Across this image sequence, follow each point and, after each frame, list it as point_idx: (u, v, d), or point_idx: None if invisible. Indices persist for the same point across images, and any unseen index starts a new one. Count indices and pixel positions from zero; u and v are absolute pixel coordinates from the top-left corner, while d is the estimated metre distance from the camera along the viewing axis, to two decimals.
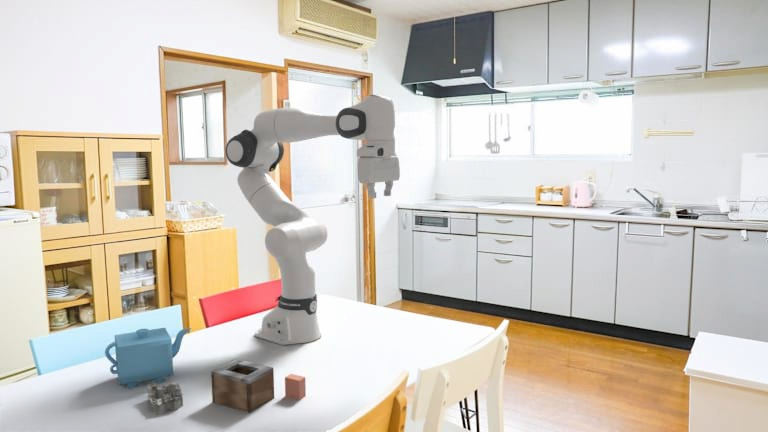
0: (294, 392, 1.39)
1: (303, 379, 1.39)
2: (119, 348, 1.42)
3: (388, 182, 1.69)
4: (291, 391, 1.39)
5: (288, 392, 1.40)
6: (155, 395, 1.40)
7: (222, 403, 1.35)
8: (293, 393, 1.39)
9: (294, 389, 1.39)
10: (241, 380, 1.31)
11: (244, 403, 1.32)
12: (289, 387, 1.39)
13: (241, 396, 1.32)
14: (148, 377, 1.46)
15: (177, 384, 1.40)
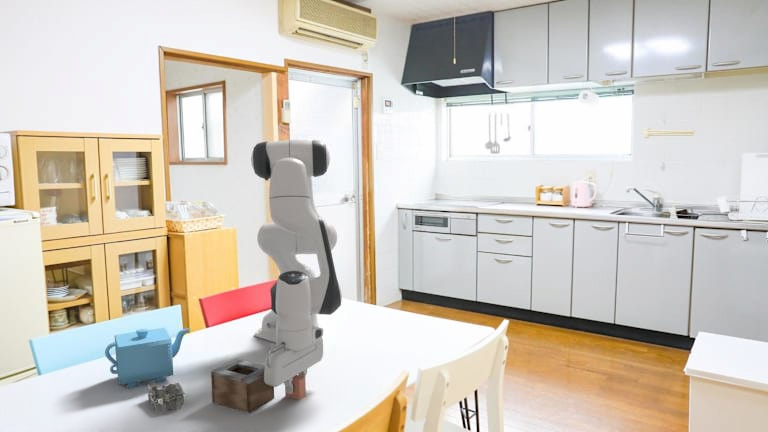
0: (294, 392, 1.39)
1: (303, 379, 1.39)
2: (119, 348, 1.42)
3: None
4: None
5: None
6: (155, 395, 1.40)
7: (222, 403, 1.35)
8: (293, 393, 1.39)
9: None
10: (241, 380, 1.31)
11: (244, 403, 1.32)
12: None
13: (241, 396, 1.32)
14: (148, 377, 1.46)
15: (177, 384, 1.41)
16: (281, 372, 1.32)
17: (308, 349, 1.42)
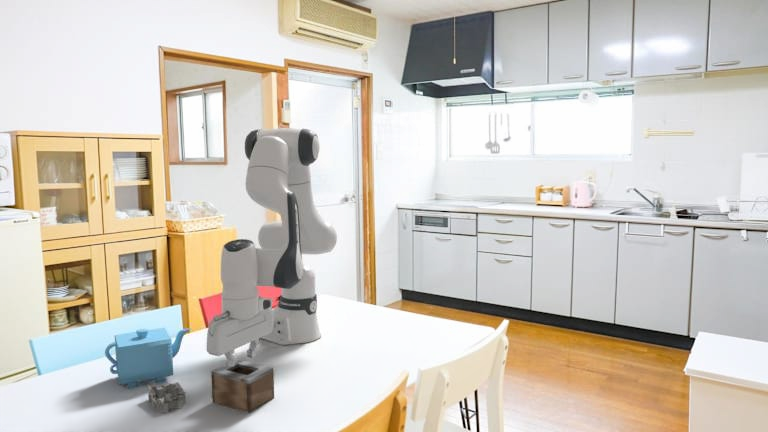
0: None
1: None
2: (119, 348, 1.42)
3: None
4: None
5: None
6: None
7: (222, 403, 1.35)
8: None
9: None
10: (241, 380, 1.31)
11: (244, 403, 1.32)
12: None
13: (241, 396, 1.32)
14: (148, 377, 1.46)
15: (177, 383, 1.41)
16: (224, 341, 1.28)
17: (256, 320, 1.38)
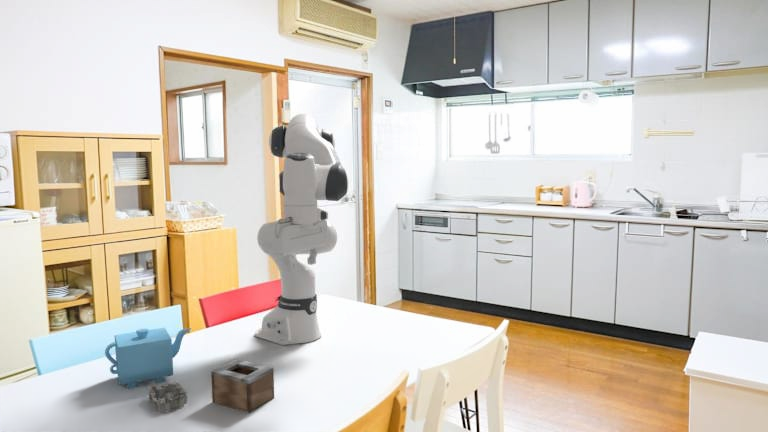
0: None
1: None
2: (119, 348, 1.42)
3: None
4: None
5: None
6: None
7: (222, 403, 1.35)
8: None
9: None
10: (241, 380, 1.31)
11: (244, 403, 1.32)
12: None
13: (241, 396, 1.32)
14: (148, 377, 1.46)
15: (177, 383, 1.41)
16: (288, 243, 1.38)
17: (313, 230, 1.48)
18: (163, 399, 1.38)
